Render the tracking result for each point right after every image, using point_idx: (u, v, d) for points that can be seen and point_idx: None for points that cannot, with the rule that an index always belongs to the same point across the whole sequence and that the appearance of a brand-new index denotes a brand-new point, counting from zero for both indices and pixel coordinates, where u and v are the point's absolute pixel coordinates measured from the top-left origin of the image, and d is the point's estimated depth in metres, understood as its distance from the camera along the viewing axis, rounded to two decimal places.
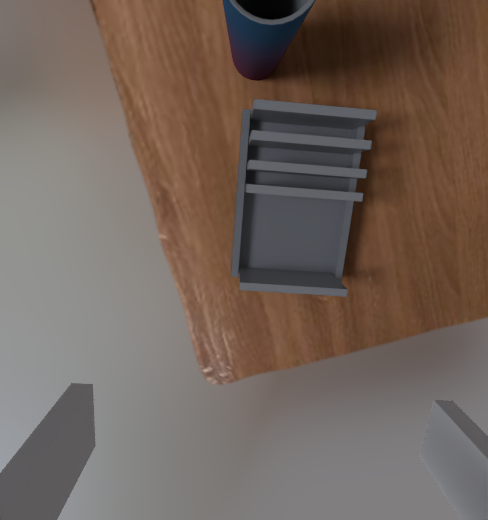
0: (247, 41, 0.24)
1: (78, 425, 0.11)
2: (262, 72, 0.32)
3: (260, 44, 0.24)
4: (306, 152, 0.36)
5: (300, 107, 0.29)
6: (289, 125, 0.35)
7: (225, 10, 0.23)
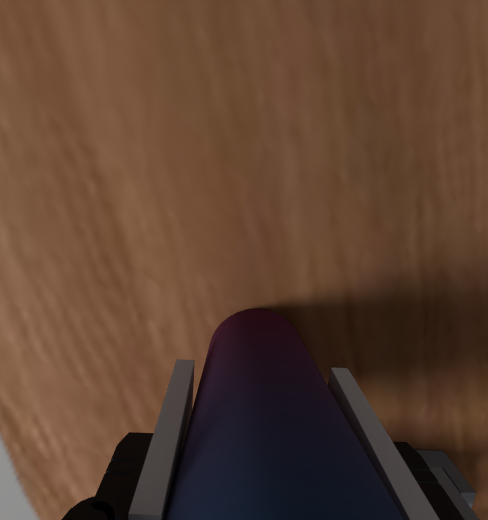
0: None
1: (190, 393, 0.13)
2: None
3: None
4: None
5: None
6: None
7: None
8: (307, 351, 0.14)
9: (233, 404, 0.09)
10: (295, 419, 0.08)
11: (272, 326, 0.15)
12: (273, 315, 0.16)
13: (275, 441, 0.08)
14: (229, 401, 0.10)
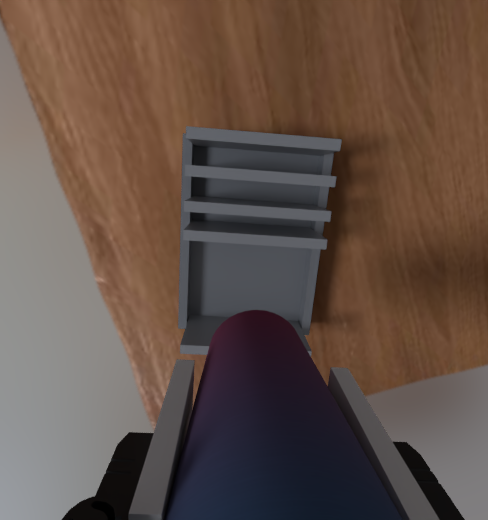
0: None
1: (190, 393, 0.13)
2: None
3: None
4: (264, 182, 0.30)
5: (244, 137, 0.23)
6: (243, 151, 0.29)
7: None
8: (307, 352, 0.14)
9: (233, 406, 0.09)
10: (295, 421, 0.08)
11: (272, 327, 0.15)
12: (273, 316, 0.16)
13: (275, 444, 0.08)
14: (229, 403, 0.10)
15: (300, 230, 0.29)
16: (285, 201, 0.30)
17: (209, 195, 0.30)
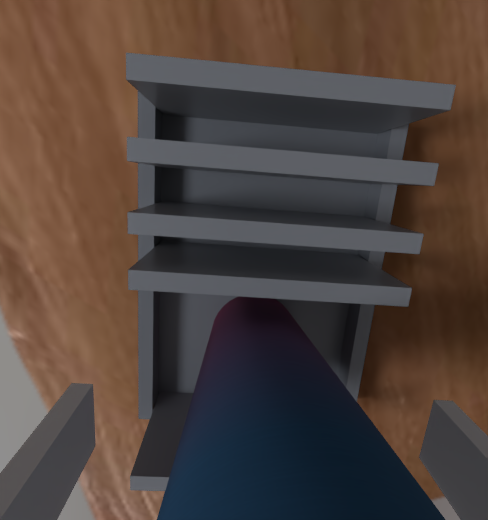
0: None
1: (78, 425, 0.11)
2: None
3: None
4: (283, 180, 0.17)
5: (251, 77, 0.11)
6: (247, 125, 0.17)
7: None
8: None
9: (236, 349, 0.11)
10: (286, 354, 0.11)
11: (268, 304, 0.17)
12: (268, 298, 0.18)
13: (270, 365, 0.10)
14: (232, 348, 0.12)
15: (346, 262, 0.16)
16: (317, 211, 0.18)
17: (189, 200, 0.18)
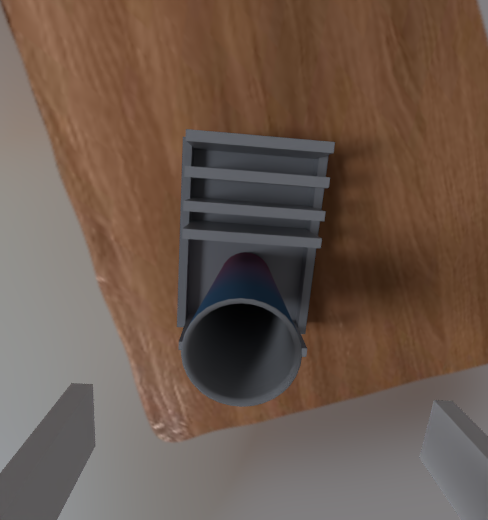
0: None
1: (78, 425, 0.11)
2: None
3: None
4: (262, 185, 0.31)
5: (241, 139, 0.24)
6: (241, 154, 0.30)
7: None
8: (268, 268, 0.29)
9: (228, 271, 0.25)
10: (249, 272, 0.23)
11: (251, 257, 0.30)
12: (254, 254, 0.31)
13: (240, 274, 0.23)
14: (227, 271, 0.25)
15: (296, 230, 0.29)
16: (282, 203, 0.31)
17: (208, 197, 0.31)
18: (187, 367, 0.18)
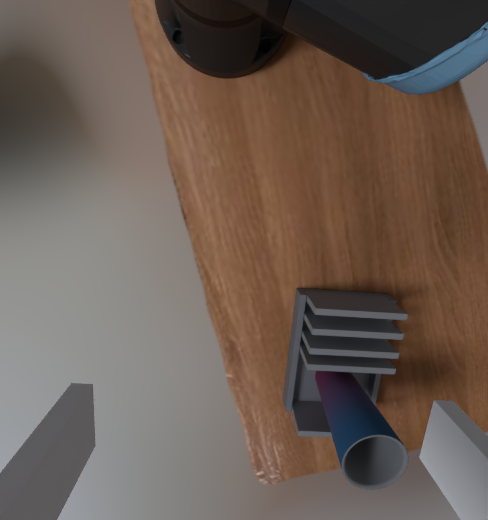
0: None
1: (78, 425, 0.11)
2: None
3: None
4: None
5: (349, 313, 0.38)
6: None
7: None
8: (354, 377, 0.44)
9: (342, 392, 0.39)
10: (358, 396, 0.38)
11: None
12: None
13: (355, 400, 0.37)
14: (340, 392, 0.39)
15: None
16: None
17: None
18: (344, 470, 0.32)
